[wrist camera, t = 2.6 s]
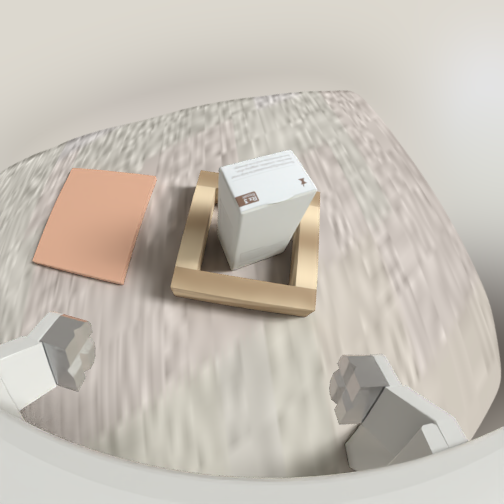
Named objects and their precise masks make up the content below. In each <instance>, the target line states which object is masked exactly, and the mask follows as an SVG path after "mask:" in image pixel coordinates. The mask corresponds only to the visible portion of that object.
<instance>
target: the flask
mask: <svg viewBox="0 0 504 504" xmlns="http://www.w3.org/2000/svg"><path fill="white" fill-rule="evenodd" d="M345 446H346V451H347V457H348V463H349V467H350V468H352V469H353V470H355V471H362V470H368V469H374V468H379V467H384V466H387V465H388V464H389V463H390V462H391V461H392V460H393V459H394V456H393V455H392V454H391V453H390V452H389V451H388V450H387V449H386V448H385V447H384V446H383V445H382V444H381V443H380V442H379V441H378V440H377V439H376V438H375V437H374V436H373V435H372V434H371V433H370V432H369V431H368V430H367V429H366V428H365V427H364V426H363V425H362V423H361V425H360V426H359V427H358V429H357V430H356V431H355V433H354V434H353V435H352V436H351V438H350V439H349V440H348V441H347V443H346V444H345Z"/></svg>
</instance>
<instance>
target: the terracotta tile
mask: <svg viewBox="0 0 504 504" xmlns="http://www.w3.org/2000/svg"><path fill="white" fill-rule="evenodd" d="M156 181H157V180H156V176H150V175H141V174H133V173H124V172H114V171H104V170H93V169H81V168H72V170H71V172H70V174H69V176H68V178H67V180H66V182H65V184H64V186H63V188H62V190H61V192H60V194H59V196H58V199H57V201H56V203H55V205H54V207H53V210H52V212H51V214H50V217H49V219H48V221H47V224H46V226H45V229H44V231H43V234H42V236H41V239H40V241H39V244H38V247H37V249H36V252H35V255H34V258H33V262H35V263H36V264H40V265H43V266H47V267H51V268H55V269H58V270H62V271H66V272H70V273H74V274H78V275H82V276H86V277H90V278H94V279H99V280H103V281H107V282H112V283H116V284H120V285H123V284H124V280H125V277H126V273H127V269H128V266H129V262H130V259H131V255H132V252H133V249H134V245H135V242H136V239H137V236H138V233H139V229H140V226H141V223H142V220H143V217H144V214H145V211H146V208H147V206H148V203H149V200H150V197H151V194H152V192H153V189H154V186H155V183H156Z"/></svg>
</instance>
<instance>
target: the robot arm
mask: <svg viewBox="0 0 504 504" xmlns="http://www.w3.org/2000/svg"><path fill="white" fill-rule="evenodd" d="M91 333H92V327H91V323H90V322H88V321H86V320H82V319H79V318H75V317H72V316H68V315H65V314H61V313H57V312H54V311H51V312H49V313H48V314H47V315H46V316H45V317H44V318H43V319H42V320H41V321H40V322H39V323H38V325H37V326H36V327H35V328H34V329H33V330H32V331H31V332H30V334H29V335H28V336H27V337H25V336H22V337H19V338H16V339H14V340H11V341H8V342H6V343H3V344H0V504H504V426H503V427H501V428H499V429H497V430H495V431H493V432H490V433H488V434H486V435H484V436H481V437H479V438H476V439H474V440H471V441H469V442H468V440H467V438H466V436H465V434H464V433H463V431H462V429H461V427H460V426H459V424H458V422H457V421H456V419H455V417H454V416H452V415H451V414H449V413H447V412H446V411H444V410H443V409H441V408H440V407H438V406H437V405H435V404H434V403H432V402H431V401H429V400H427V399H426V398H424V397H423V396H421V395H420V394H418V393H417V392H415V391H414V390H412V389H411V388H409V387H408V386H406V385H402V384H401V383H400V381H399V379H398V377H397V375H396V374H395V372H394V370H393V368H392V367H391V365H390V363H389V361H388V360H387V358H386V356H385V355H383V354H370V355H342V356H341V357H340V359H339V361H338V366H339V369H338V370H337V371H336V372H334V373H333V375H332V378H331V380H330V387H329V390H330V396H331V400H333V401H334V402H335V403H336V404H337V406H336V407H335V409H334V410H335V413H336V416H337V420H338V423H339V424H358V423H362V425H363V426H364V427H365V428H366V429H367V430H368V431H369V432H370V433H371V434H372V435H373V436H374V437H375V438H376V439H377V440H378V441H379V442H380V443H381V444H382V445H383V446H384V447H385V448H386V449H387V450H388V451H389V452H390V453H391V454H392V455H393V456H394V459H393V460H392V461H391V462H390V463H389V464H388V465H387V466H384V467H379V468H374V469H368V470H362V471H356V472H349V473H341V474H332V475H322V476H309V477H289V478H254V477H233V476H220V475H210V474H201V473H193V472H186V471H180V470H174V469H168V468H162V467H157V466H153V465H148V464H143V463H139V462H135V461H131V460H127V459H123V458H119V457H116V456H112V455H109V454H106V453H102V452H99V451H96V450H93V449H90V448H87V447H84V446H81V445H79V444H76V443H73V442H71V441H68V440H65V439H63V438H60V437H58V436H56V435H53V434H51V433H48V432H46V431H44V430H42V429H40V428H37V427H35V426H33V425H31V424H29V423H27V422H26V421H25V420H24V418H23V416H22V415H21V413H20V410H21V409H23V408H24V407H26V406H27V405H29V404H30V403H32V402H33V401H35V400H36V399H38V398H40V397H41V396H43V395H44V394H46V393H47V392H49V391H50V390H52V389H53V388H55V387H56V386H57V385H59V386H62V387H65V388H68V389H71V390H74V391H79V389H80V387H81V386H82V384H83V382H84V380H85V374H84V372H85V371H87V370H89V369H91V367H92V365H93V363H94V359H95V343H94V341H93V340H92V339H91V338H90V335H91Z"/></svg>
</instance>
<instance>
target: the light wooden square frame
mask: <svg viewBox="0 0 504 504" xmlns="http://www.w3.org/2000/svg"><path fill="white" fill-rule="evenodd" d="M218 180H219V173H215V172H208V171H202V170H201V172H200V175H199V179H198V182H197V185H196V189H195V192H194V196H193V199H192V203H191V207H190V210H189V214H188V218H187V221H186V225H185V229H184V233H183V237H182V241H181V244H180V248H179V252H178V257H177V261H176V265H175V269H174V273H173V278H172V282H171V289H172V291H173V293H174V295H175V296H178V297H183V298H189V299H194V300H200V301H205V302H211V303H217V304H222V305H228V306H234V307H241V308H247V309H253V310H260V311H267V312H273V313H280V314H288V315H295V316H303V317H306V316H308V315H309V314H311V313H312V312H314V311H315V305H316V289H317V272H318V249H319V215H320V192H316V194H315V195H314V197H313V199H312V201H311V203H310V205H309V207H308V208H307V210H306V212H305V214H304V216H303V217H302V219H301V221H300V223H299V225H298V227H297V228H296V230H295V232H294V234H293V244H292V256H291V268H290V279H289V285H284V284H278V283H271V282H265V281H259V280H253V279H247V278H241V277H235V276H229V275H223V274H217V273H211V272H206V271H200V270H201V265H202V260H203V256H204V251H205V246H206V242H207V237H208V233H209V228H210V224H211V219H212V215H213V211H214V206H215V204H218Z"/></svg>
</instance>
